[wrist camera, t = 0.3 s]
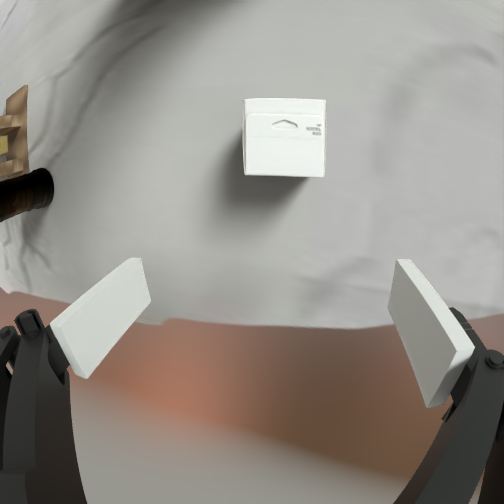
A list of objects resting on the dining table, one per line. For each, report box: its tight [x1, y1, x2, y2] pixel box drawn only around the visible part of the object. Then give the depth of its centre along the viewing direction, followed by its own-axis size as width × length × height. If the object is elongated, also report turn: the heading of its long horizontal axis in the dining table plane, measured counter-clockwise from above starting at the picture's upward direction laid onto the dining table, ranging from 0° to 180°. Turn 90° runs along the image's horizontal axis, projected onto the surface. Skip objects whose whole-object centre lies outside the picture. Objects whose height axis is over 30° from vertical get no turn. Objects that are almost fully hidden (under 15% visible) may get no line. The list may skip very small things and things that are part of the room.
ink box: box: [243, 98, 326, 178], centre depth 30 cm, size 9×8×12 cm
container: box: [0, 168, 54, 222], centre depth 37 cm, size 9×9×18 cm
